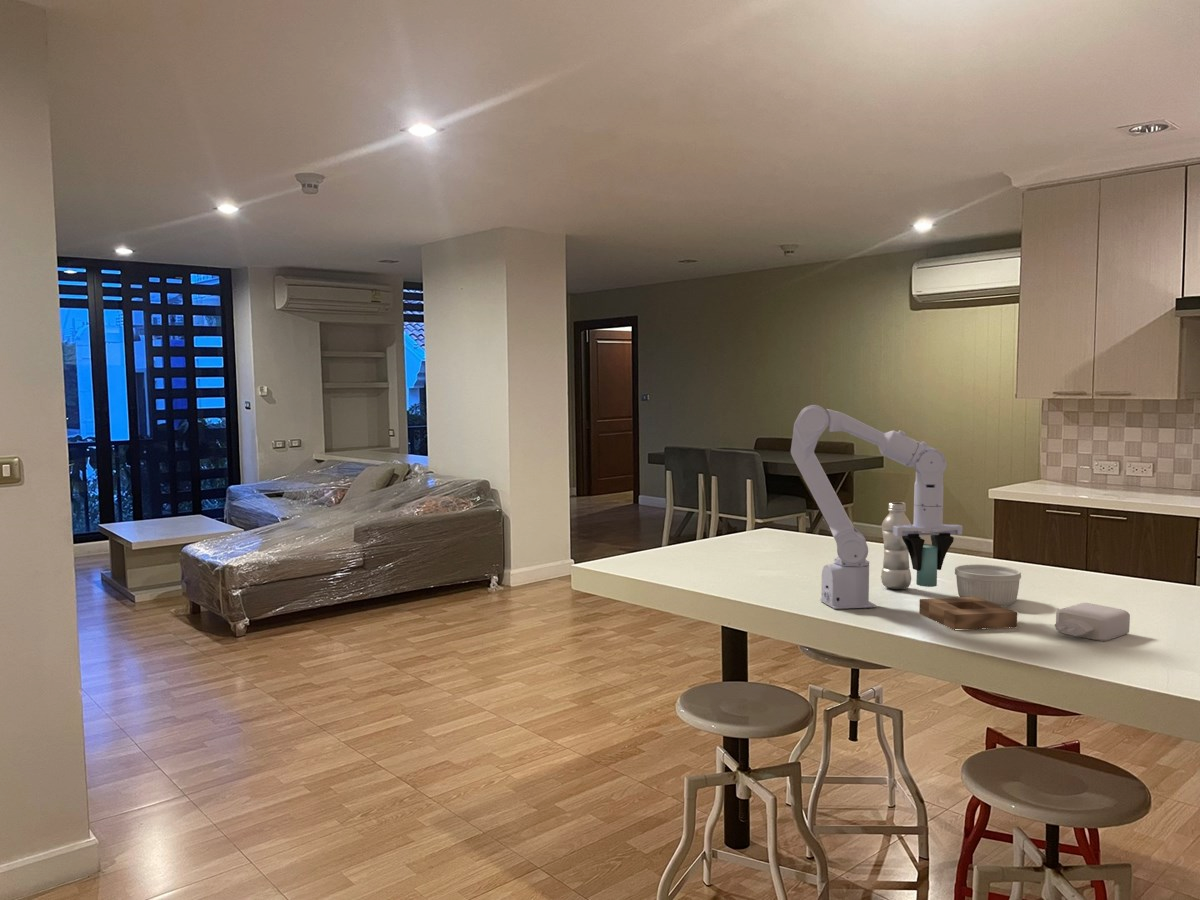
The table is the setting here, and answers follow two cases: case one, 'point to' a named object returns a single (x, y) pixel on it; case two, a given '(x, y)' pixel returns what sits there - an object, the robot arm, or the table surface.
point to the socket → (968, 613)
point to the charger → (1093, 621)
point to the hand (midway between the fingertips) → (926, 569)
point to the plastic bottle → (895, 550)
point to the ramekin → (988, 582)
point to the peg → (928, 567)
